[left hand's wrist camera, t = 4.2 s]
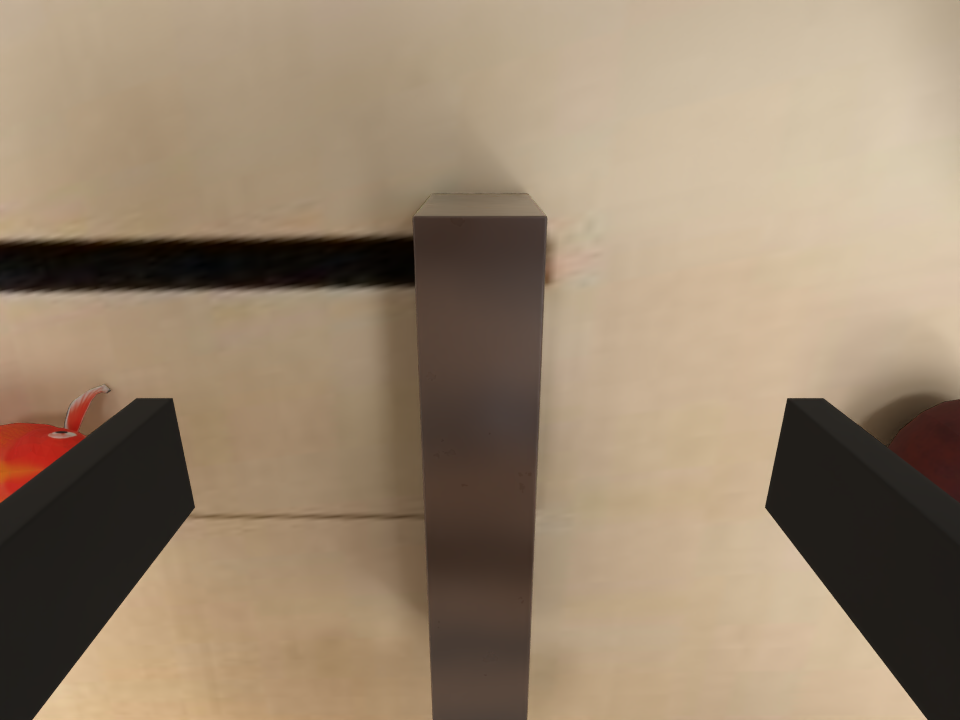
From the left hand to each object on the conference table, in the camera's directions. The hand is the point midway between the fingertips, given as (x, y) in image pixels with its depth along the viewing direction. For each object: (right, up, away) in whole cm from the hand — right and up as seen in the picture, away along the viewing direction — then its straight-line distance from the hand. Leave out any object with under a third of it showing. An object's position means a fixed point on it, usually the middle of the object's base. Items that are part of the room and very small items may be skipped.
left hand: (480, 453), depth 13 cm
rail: (0, -2, +19) cm, 19 cm away
